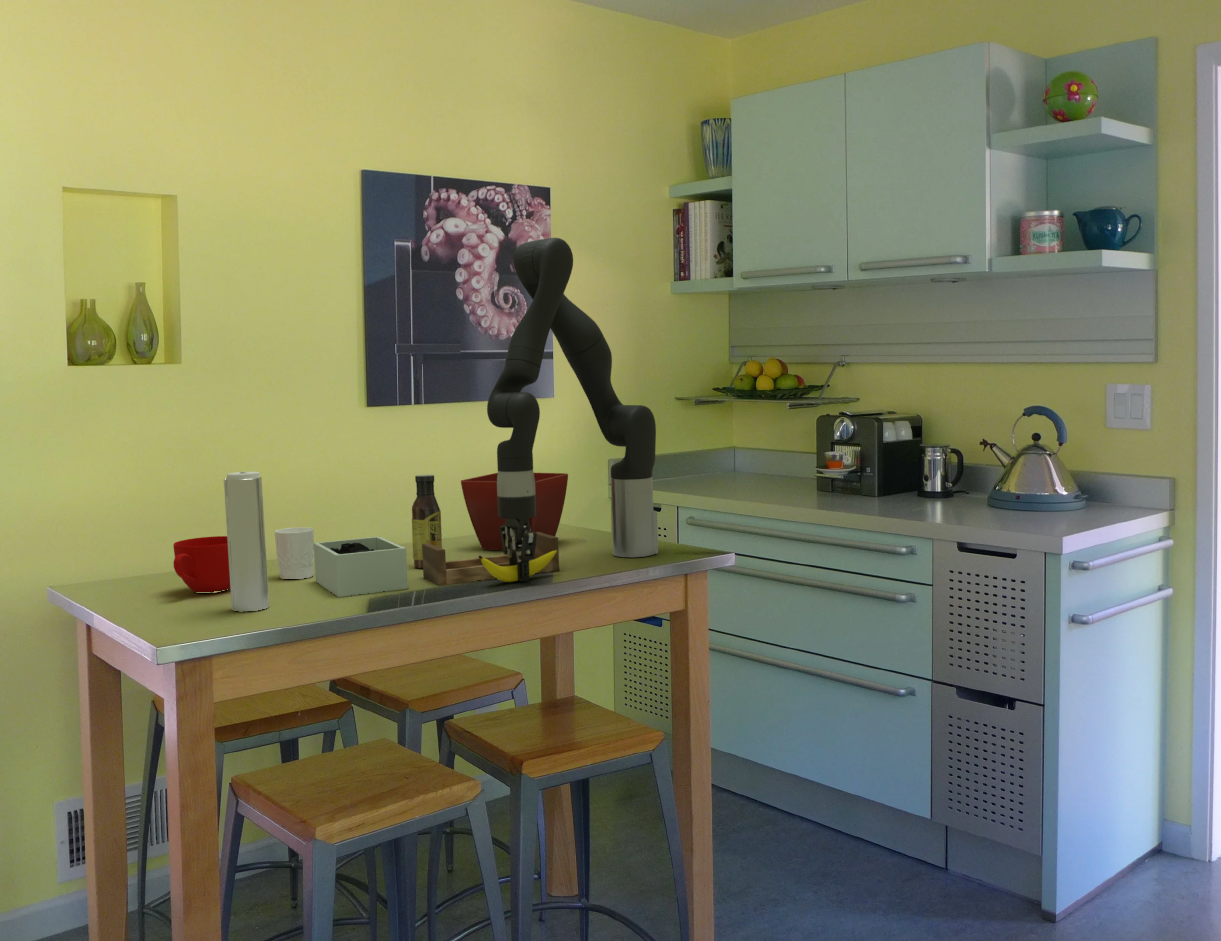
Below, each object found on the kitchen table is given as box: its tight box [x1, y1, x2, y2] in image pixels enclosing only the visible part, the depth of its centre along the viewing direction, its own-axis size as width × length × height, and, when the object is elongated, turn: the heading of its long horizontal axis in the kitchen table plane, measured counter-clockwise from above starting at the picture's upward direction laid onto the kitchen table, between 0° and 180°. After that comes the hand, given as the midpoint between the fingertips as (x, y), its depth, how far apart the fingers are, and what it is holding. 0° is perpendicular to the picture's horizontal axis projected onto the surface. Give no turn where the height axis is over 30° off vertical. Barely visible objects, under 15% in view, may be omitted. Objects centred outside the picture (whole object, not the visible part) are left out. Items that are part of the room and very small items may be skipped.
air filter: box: [223, 471, 270, 612], centre depth 204 cm, size 6×6×25 cm
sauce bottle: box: [411, 474, 443, 569], centre depth 242 cm, size 7×6×20 cm
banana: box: [478, 550, 557, 583], centre depth 224 cm, size 3×19×6 cm, turn 130°
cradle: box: [422, 532, 560, 586], centre depth 232 cm, size 26×10×7 cm, turn 117°
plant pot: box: [460, 472, 569, 551], centre depth 265 cm, size 19×19×17 cm
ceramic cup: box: [173, 535, 231, 592], centre depth 221 cm, size 13×17×10 cm
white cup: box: [274, 526, 315, 580], centre depth 235 cm, size 8×8×10 cm
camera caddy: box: [314, 536, 409, 598], centre depth 224 cm, size 14×19×8 cm
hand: (519, 578), depth 224 cm, fingers closed on banana, 3 cm apart
